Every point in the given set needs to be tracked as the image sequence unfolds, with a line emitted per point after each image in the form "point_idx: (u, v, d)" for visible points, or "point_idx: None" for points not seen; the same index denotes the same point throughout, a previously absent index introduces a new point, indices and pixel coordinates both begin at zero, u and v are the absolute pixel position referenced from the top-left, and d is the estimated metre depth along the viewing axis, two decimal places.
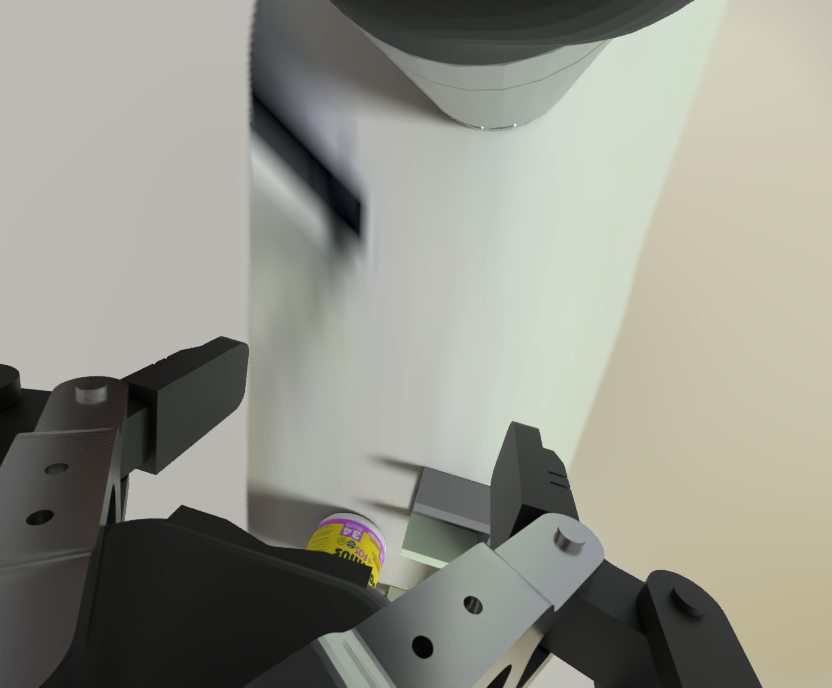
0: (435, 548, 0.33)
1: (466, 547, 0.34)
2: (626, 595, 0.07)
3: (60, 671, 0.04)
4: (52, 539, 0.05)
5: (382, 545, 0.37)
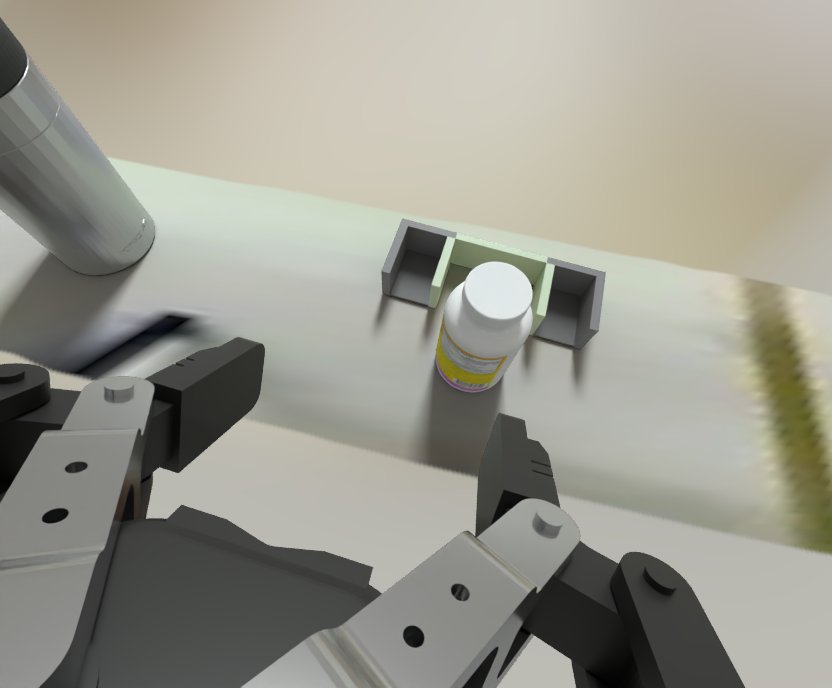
0: None
1: None
2: (601, 576, 0.08)
3: (55, 677, 0.04)
4: (63, 539, 0.05)
5: None
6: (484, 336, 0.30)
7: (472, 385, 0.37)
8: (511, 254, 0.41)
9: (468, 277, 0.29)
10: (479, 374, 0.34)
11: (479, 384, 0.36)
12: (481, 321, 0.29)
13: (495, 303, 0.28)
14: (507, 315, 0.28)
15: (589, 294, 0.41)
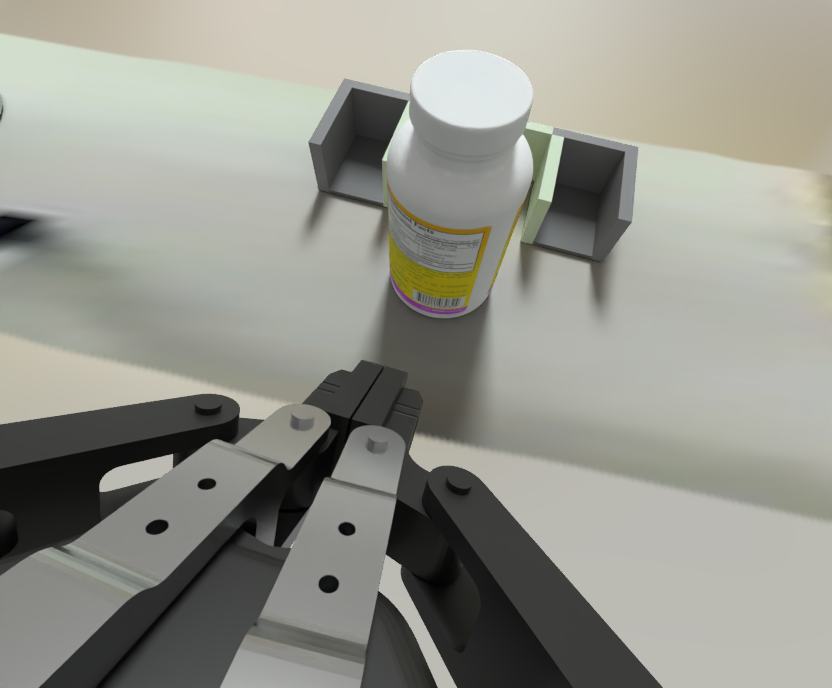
0: None
1: None
2: (419, 486, 0.09)
3: None
4: (142, 554, 0.05)
5: None
6: (450, 183, 0.17)
7: (441, 302, 0.24)
8: None
9: (418, 69, 0.16)
10: (449, 275, 0.22)
11: (452, 297, 0.24)
12: (442, 142, 0.16)
13: (466, 105, 0.16)
14: (487, 122, 0.15)
15: (614, 180, 0.28)
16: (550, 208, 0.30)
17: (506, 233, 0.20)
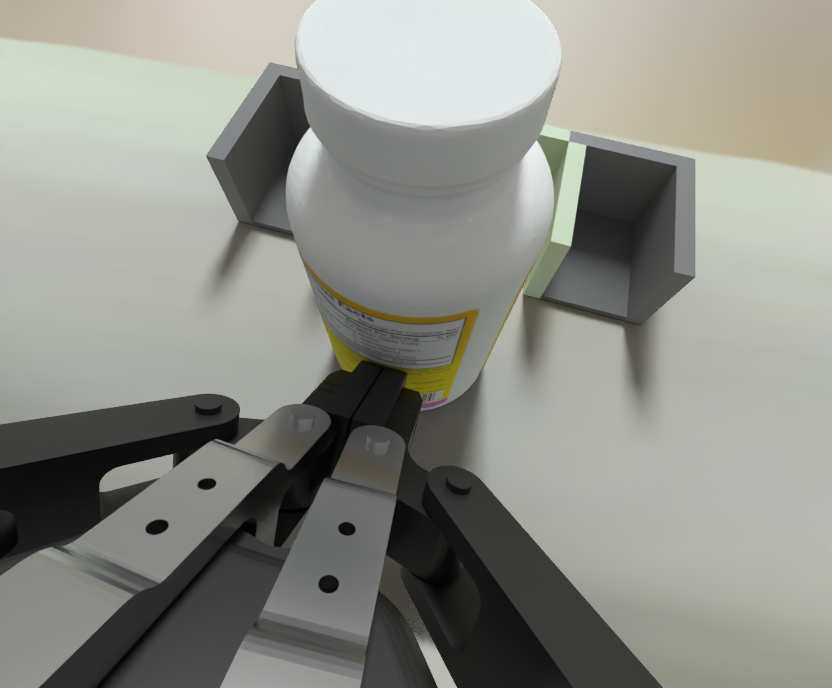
0: None
1: None
2: (419, 486, 0.09)
3: None
4: (143, 555, 0.05)
5: None
6: (394, 238, 0.09)
7: None
8: None
9: (316, 3, 0.08)
10: (413, 371, 0.13)
11: (421, 393, 0.15)
12: (364, 160, 0.07)
13: (414, 75, 0.07)
14: (461, 113, 0.07)
15: (660, 207, 0.19)
16: None
17: (506, 308, 0.12)
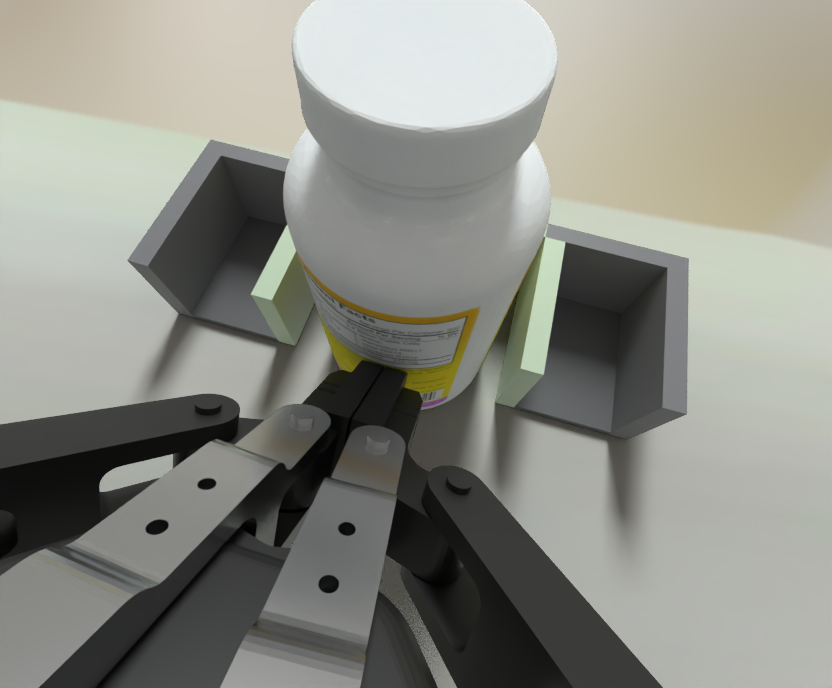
0: None
1: None
2: (419, 486, 0.09)
3: None
4: (143, 555, 0.05)
5: None
6: (395, 239, 0.09)
7: None
8: None
9: (312, 7, 0.08)
10: (414, 371, 0.13)
11: (422, 393, 0.15)
12: (365, 163, 0.07)
13: (412, 77, 0.07)
14: (461, 115, 0.07)
15: (649, 311, 0.17)
16: None
17: (505, 306, 0.12)
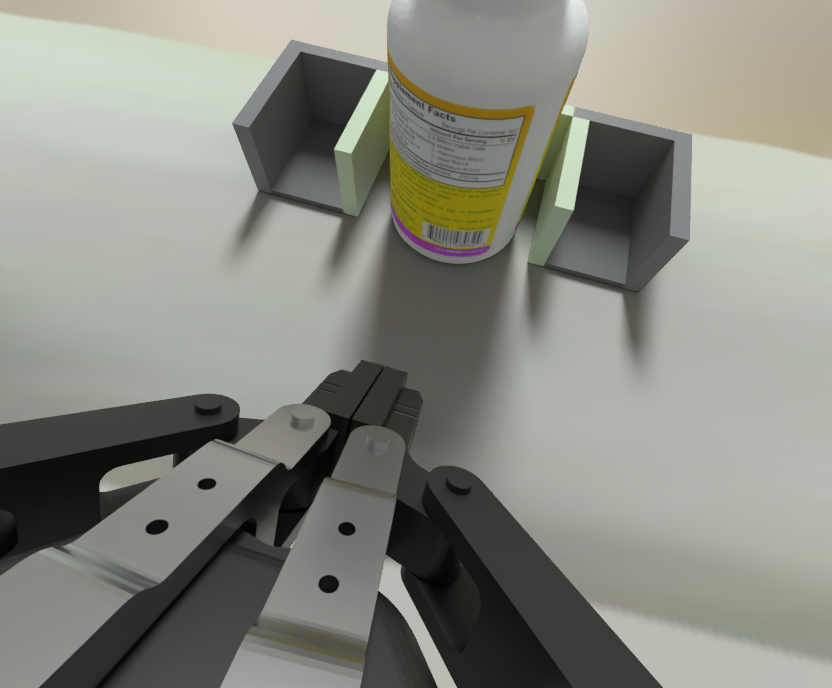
0: None
1: None
2: (419, 486, 0.09)
3: None
4: (143, 554, 0.05)
5: None
6: (481, 33, 0.12)
7: (459, 238, 0.19)
8: None
9: None
10: (473, 193, 0.16)
11: (473, 230, 0.18)
12: None
13: None
14: None
15: (658, 180, 0.20)
16: None
17: (549, 127, 0.15)
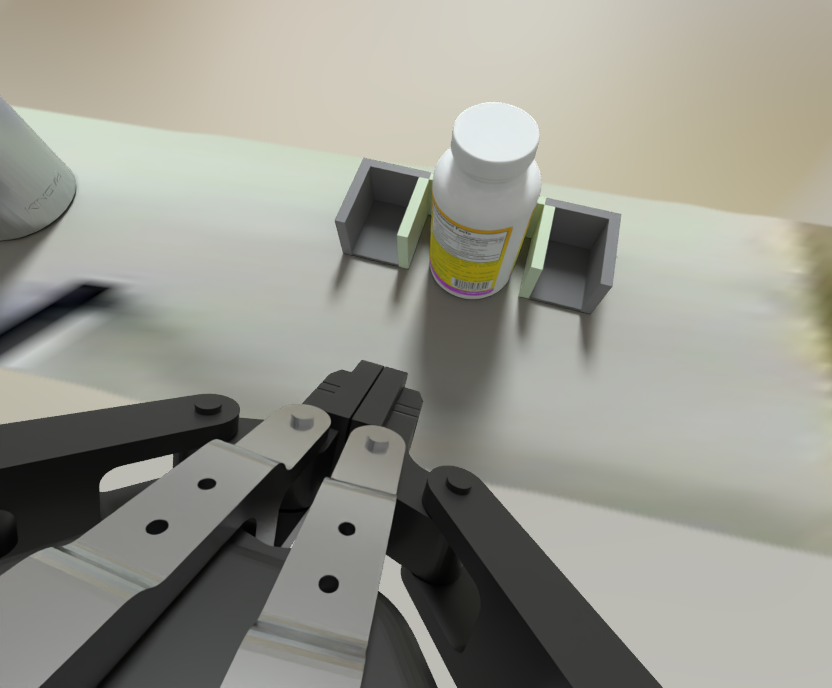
0: None
1: None
2: (419, 486, 0.09)
3: None
4: (143, 554, 0.05)
5: None
6: (483, 198, 0.24)
7: (473, 286, 0.31)
8: None
9: (457, 120, 0.23)
10: (481, 264, 0.28)
11: (482, 282, 0.31)
12: (477, 172, 0.23)
13: (493, 145, 0.22)
14: (509, 157, 0.22)
15: (600, 243, 0.32)
16: (545, 264, 0.34)
17: (523, 230, 0.27)
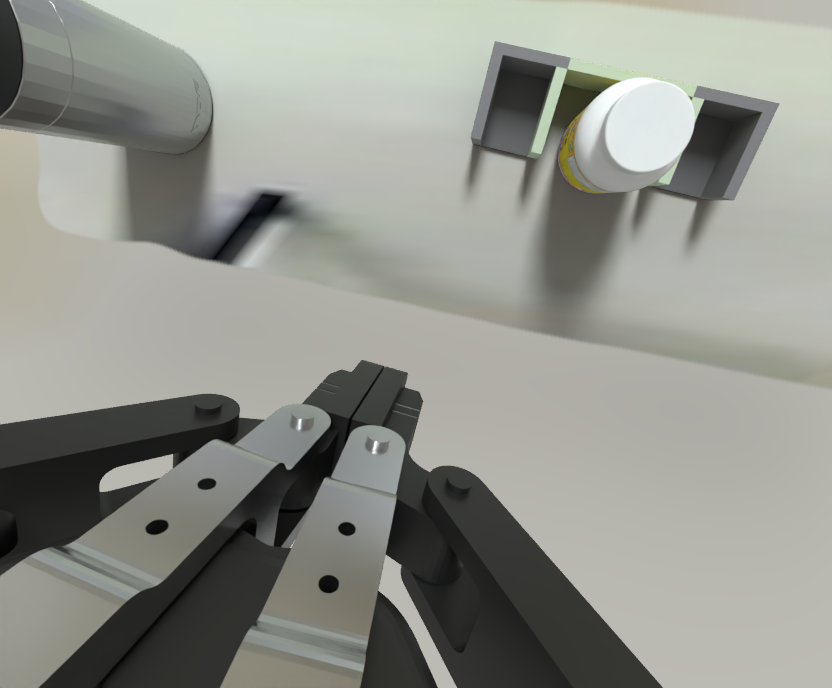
0: (540, 118, 0.33)
1: (549, 86, 0.33)
2: (419, 486, 0.09)
3: None
4: (143, 554, 0.05)
5: None
6: (622, 176, 0.27)
7: None
8: None
9: (611, 115, 0.24)
10: None
11: None
12: (621, 170, 0.25)
13: (642, 149, 0.24)
14: (654, 164, 0.24)
15: (743, 135, 0.31)
16: None
17: None
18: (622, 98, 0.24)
